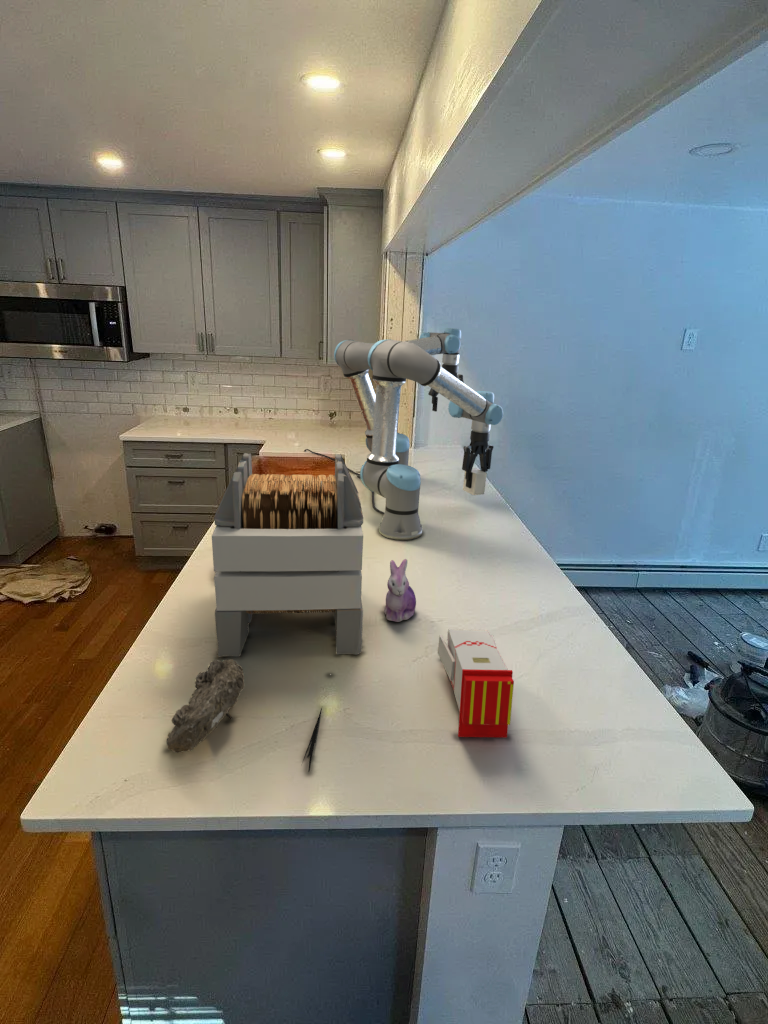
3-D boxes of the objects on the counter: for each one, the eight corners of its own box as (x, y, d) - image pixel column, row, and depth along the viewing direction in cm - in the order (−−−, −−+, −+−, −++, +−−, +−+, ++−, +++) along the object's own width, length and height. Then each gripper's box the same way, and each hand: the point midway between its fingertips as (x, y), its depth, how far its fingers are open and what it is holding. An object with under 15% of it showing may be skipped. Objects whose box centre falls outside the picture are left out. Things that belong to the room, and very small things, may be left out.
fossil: (192, 660, 117) (244, 628, 112) (224, 691, 120) (276, 661, 115) (142, 746, 98) (202, 712, 93) (182, 779, 101) (242, 748, 96)
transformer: (236, 587, 157) (228, 443, 143) (353, 586, 161) (357, 445, 147) (215, 659, 125) (203, 483, 111) (362, 655, 129) (368, 484, 115)
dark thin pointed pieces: (331, 679, 122) (336, 673, 122) (307, 777, 96) (313, 769, 95) (324, 675, 122) (329, 669, 121) (298, 772, 95) (304, 764, 95)
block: (474, 495, 230) (476, 473, 227) (462, 489, 236) (465, 468, 233) (484, 494, 232) (486, 472, 229) (472, 488, 239) (475, 468, 236)
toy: (488, 613, 130) (523, 677, 101) (484, 667, 133) (517, 744, 104) (435, 612, 130) (455, 676, 101) (432, 666, 133) (451, 743, 103)
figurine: (392, 627, 141) (395, 572, 136) (374, 608, 149) (376, 556, 144) (425, 619, 145) (429, 566, 140) (405, 601, 154) (408, 550, 149)
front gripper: (467, 433, 218) (461, 491, 226) (504, 431, 227) (497, 487, 234) (456, 429, 224) (450, 486, 232) (492, 428, 233) (486, 482, 241)
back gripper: (432, 364, 250) (428, 413, 257) (477, 364, 261) (472, 410, 269) (422, 363, 256) (419, 410, 263) (467, 362, 268) (463, 407, 275)
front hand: (474, 486), depth 233 cm, fingers closed on block, 5 cm apart
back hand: (446, 410), depth 266 cm, fingers open, 13 cm apart
